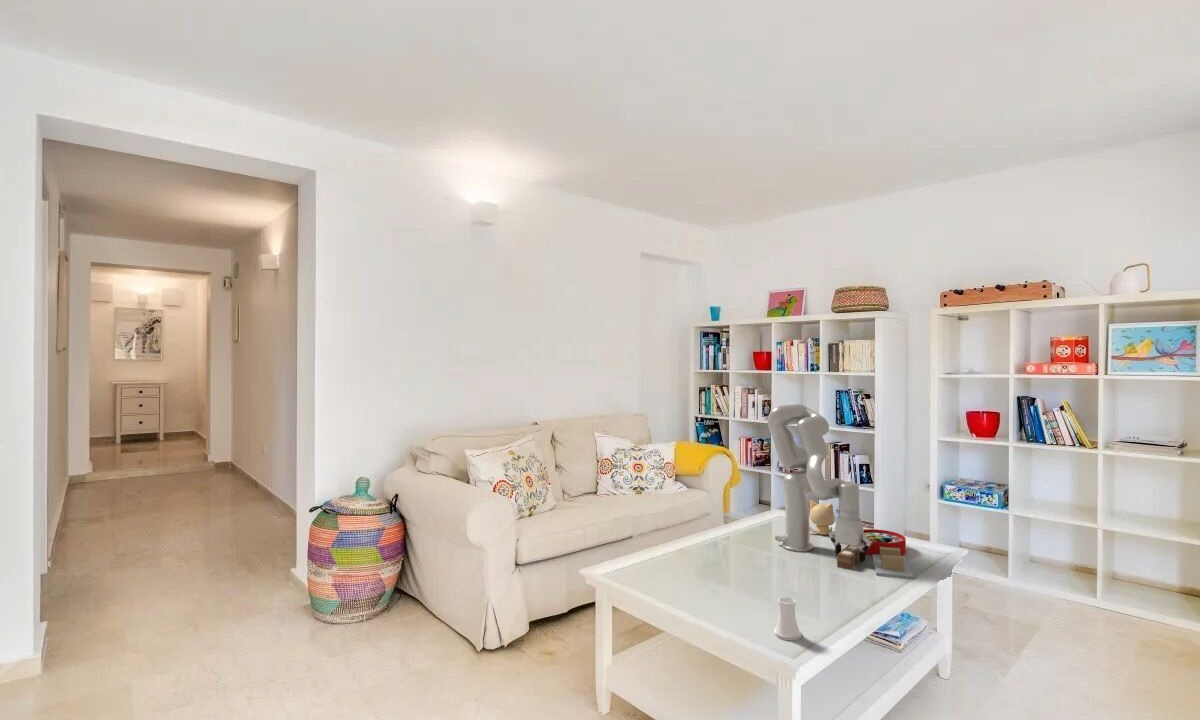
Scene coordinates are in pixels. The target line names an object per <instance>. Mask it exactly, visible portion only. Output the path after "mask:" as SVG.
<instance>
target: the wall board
mask: <svg viewBox="0 0 1200 720" xmlns="http://www.w3.org/2000/svg"><path fill="white" fill-rule="evenodd" d="M871 557H872V561H873V567H874V570H875V575H876V576H879V577H888V578H889V577H890V578H897V579H898V578H900V579H910V580H913V579H914V575H913V573H912V570H911V567H910V565H909V562H908V559H907V557H906V556H904V555H903V556H901V551H900V548H888V547H880V555H876V554H872V556H871ZM912 578H913V579H912Z"/></svg>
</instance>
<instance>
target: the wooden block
mask: <svg viewBox="0 0 1200 720" xmlns="http://www.w3.org/2000/svg"><path fill="white" fill-rule="evenodd" d="M859 552H861V551H860V549H859V548H858V547H855V546H850V545H846V546H845V547H844V548H842V549H841V552H840V553H839V554H838V555H837V556H836V562H837V563H836V567H837V568H839V569H844V570H849V571H851V570H852V569H854V567H856V566H857V564H858V563H859V562H860V561H859Z"/></svg>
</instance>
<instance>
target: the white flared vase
mask: <svg viewBox="0 0 1200 720" xmlns="http://www.w3.org/2000/svg"><path fill="white" fill-rule="evenodd" d="M796 602H797V601H796V599H794V598H792V597H786V596H785V597H784V596H783V597H779V598H778V621H777V623H776V627H775V628H774V629H773V634H774V636H776V638H777V639H778V638H779V639H780V640H784V641H797V640H799V639H801V638H802V631H801V630H800V629H799V626H798V622H797V617H796Z"/></svg>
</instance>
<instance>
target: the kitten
mask: <svg viewBox="0 0 1200 720" xmlns="http://www.w3.org/2000/svg"><path fill="white" fill-rule="evenodd" d="M809 521H811V523H813V524H815V527H814V528H812V527H811V526H809V532H810V533H811V532H812V533H814V534H818V535H822V536H826V535H829V533H830V532H833V526H832V525H834V523H836V516H835V513H834V506H833V503H832V502H830V503H827V504H825V503H817V502H815V500H813V499H810V500H809ZM829 526H831V527H829ZM834 537H835V534H834Z"/></svg>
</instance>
